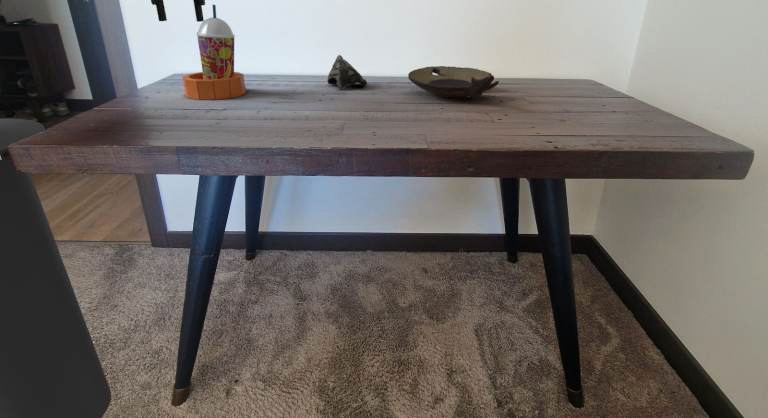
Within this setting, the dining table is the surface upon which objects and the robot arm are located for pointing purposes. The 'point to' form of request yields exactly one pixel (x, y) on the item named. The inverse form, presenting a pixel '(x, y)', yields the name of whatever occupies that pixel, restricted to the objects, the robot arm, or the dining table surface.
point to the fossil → (344, 74)
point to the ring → (213, 87)
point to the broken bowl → (453, 81)
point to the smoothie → (216, 48)
